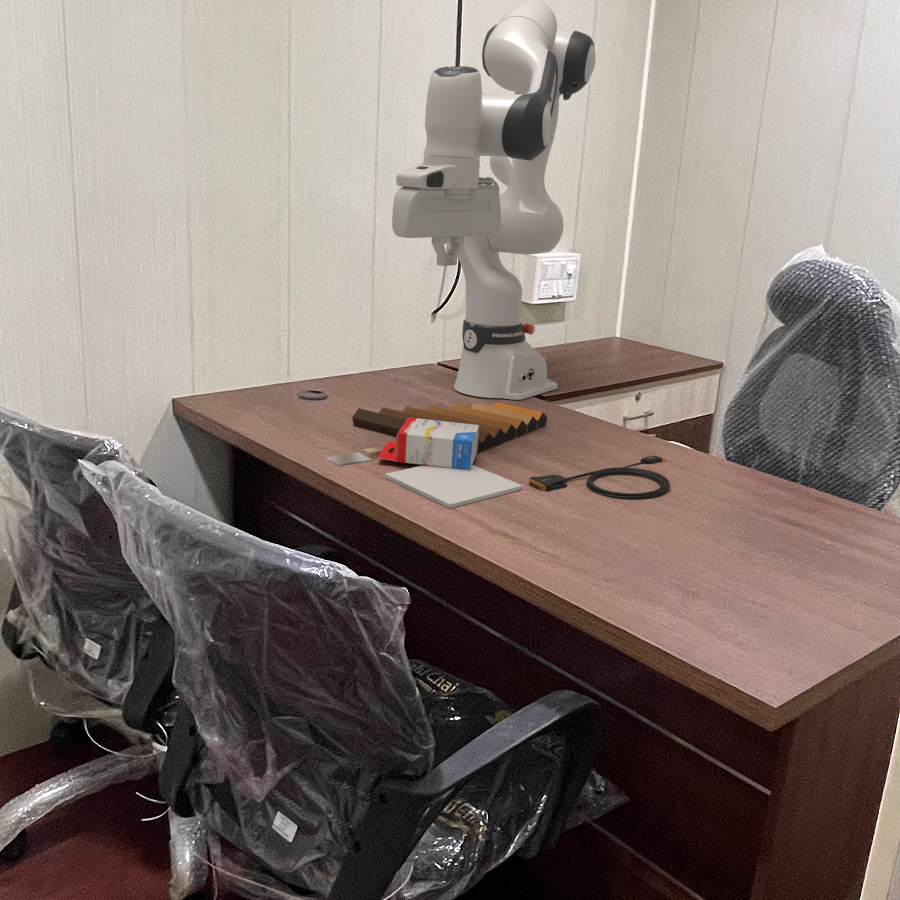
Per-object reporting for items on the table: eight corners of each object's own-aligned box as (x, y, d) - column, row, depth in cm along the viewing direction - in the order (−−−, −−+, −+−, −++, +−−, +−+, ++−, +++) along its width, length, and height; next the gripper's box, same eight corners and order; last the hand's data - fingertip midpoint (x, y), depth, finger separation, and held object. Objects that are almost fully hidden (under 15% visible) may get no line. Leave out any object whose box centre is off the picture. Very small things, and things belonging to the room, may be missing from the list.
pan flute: (351, 428, 168) (469, 459, 154) (352, 410, 167) (470, 439, 153) (435, 402, 188) (546, 428, 174) (436, 386, 187) (547, 410, 173)
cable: (721, 485, 149) (722, 476, 148) (586, 517, 133) (587, 506, 133) (657, 460, 159) (658, 451, 159) (525, 486, 144) (526, 477, 143)
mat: (455, 461, 152) (456, 458, 151) (522, 489, 141) (522, 485, 141) (384, 477, 143) (384, 473, 143) (450, 508, 132) (450, 504, 132)
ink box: (472, 440, 144) (377, 430, 146) (470, 471, 146) (376, 460, 148) (479, 423, 152) (389, 414, 154) (477, 453, 154) (388, 443, 156)
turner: (406, 447, 158) (407, 440, 158) (420, 453, 155) (420, 446, 155) (325, 459, 150) (325, 452, 149) (338, 467, 147) (338, 459, 146)
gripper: (486, 176, 159) (481, 260, 163) (387, 174, 146) (385, 265, 151) (512, 178, 155) (506, 265, 159) (413, 176, 142) (409, 270, 146)
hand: (446, 265), depth 155 cm, fingers closed
